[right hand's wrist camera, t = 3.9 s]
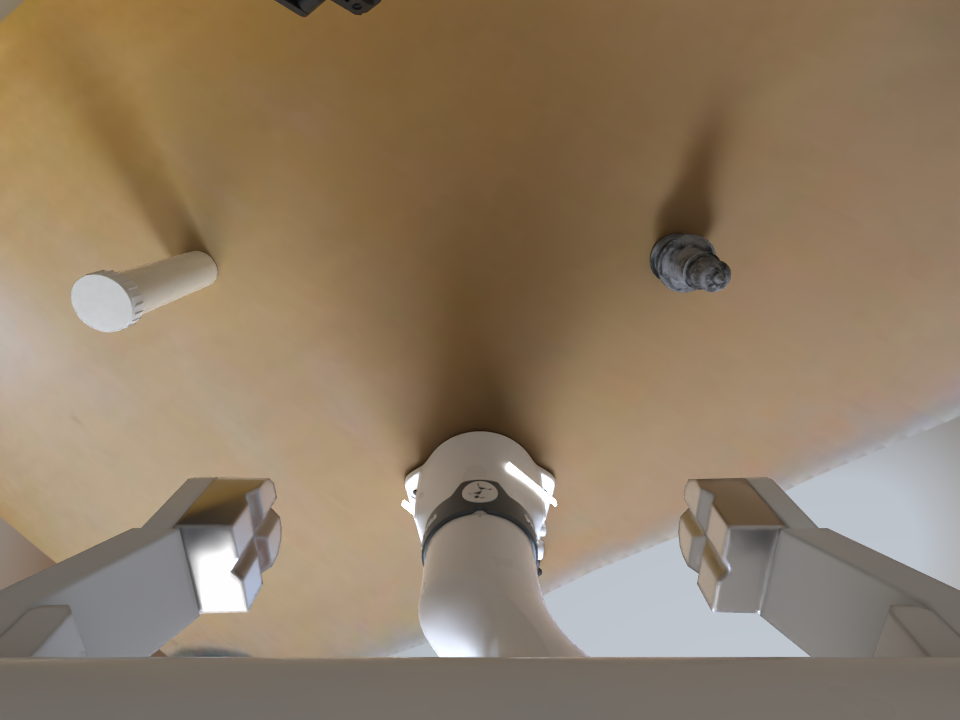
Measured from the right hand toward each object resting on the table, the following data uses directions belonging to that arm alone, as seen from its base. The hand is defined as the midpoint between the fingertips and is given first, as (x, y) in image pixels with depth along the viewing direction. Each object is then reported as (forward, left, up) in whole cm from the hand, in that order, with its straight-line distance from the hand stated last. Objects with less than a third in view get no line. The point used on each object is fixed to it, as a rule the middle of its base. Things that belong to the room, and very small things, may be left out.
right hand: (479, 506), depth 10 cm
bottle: (-4, +31, -48) cm, 57 cm away
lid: (-4, +31, -33) cm, 45 cm away
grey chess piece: (-3, -21, -48) cm, 52 cm away
